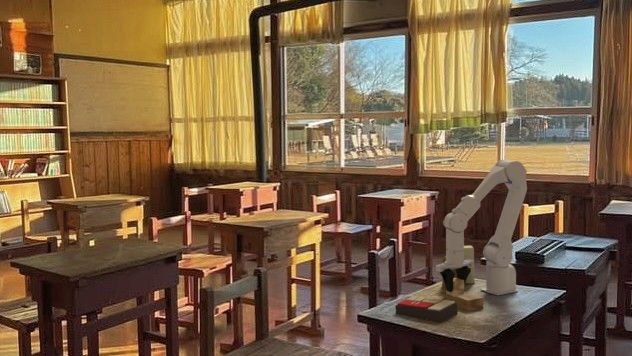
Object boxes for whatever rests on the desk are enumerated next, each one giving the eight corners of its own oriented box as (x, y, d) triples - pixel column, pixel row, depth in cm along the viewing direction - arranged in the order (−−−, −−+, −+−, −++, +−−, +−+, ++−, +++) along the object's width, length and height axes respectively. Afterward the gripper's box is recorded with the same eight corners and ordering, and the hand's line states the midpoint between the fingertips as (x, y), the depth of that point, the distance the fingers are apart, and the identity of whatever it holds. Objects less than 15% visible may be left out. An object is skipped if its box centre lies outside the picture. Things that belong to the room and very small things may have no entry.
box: (472, 280, 218) (472, 245, 217) (474, 283, 213) (474, 247, 212) (457, 280, 218) (457, 245, 217) (459, 283, 214) (459, 247, 213)
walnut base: (470, 304, 190) (470, 293, 190) (483, 308, 185) (483, 297, 184) (455, 306, 187) (454, 295, 187) (467, 311, 182) (467, 300, 182)
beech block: (455, 292, 203) (455, 277, 203) (464, 295, 199) (464, 280, 199) (446, 294, 201) (446, 279, 201) (454, 297, 197) (454, 281, 197)
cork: (462, 286, 210) (462, 255, 209) (453, 290, 205) (453, 258, 204) (447, 284, 214) (447, 253, 213) (438, 287, 209) (438, 256, 209)
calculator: (413, 294, 189) (457, 299, 180) (414, 308, 190) (458, 314, 180) (394, 302, 181) (439, 308, 171) (395, 317, 181) (440, 323, 171)
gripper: (463, 245, 206) (463, 284, 207) (429, 250, 199) (430, 290, 200) (478, 248, 200) (478, 289, 201) (444, 253, 193) (444, 295, 194)
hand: (455, 290), depth 200 cm, fingers open, 4 cm apart
